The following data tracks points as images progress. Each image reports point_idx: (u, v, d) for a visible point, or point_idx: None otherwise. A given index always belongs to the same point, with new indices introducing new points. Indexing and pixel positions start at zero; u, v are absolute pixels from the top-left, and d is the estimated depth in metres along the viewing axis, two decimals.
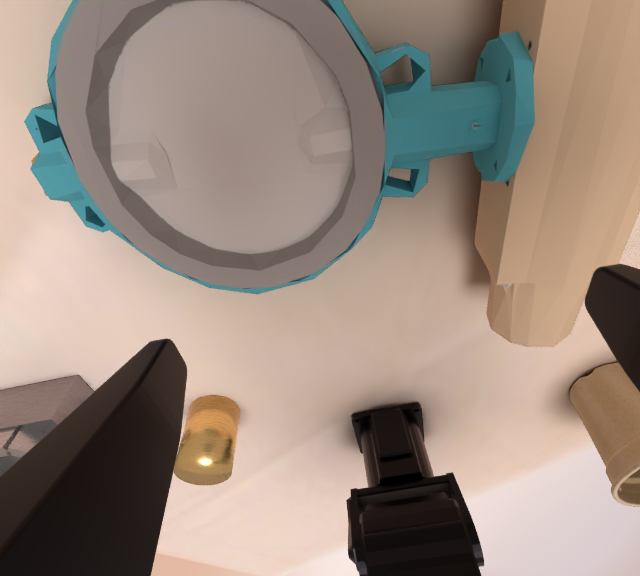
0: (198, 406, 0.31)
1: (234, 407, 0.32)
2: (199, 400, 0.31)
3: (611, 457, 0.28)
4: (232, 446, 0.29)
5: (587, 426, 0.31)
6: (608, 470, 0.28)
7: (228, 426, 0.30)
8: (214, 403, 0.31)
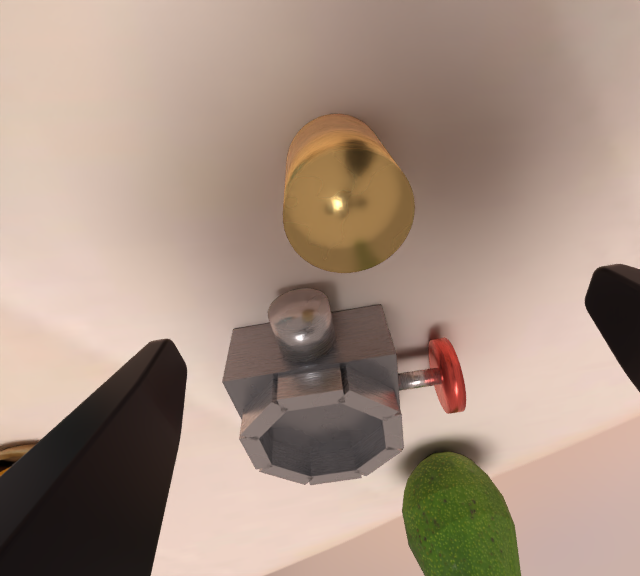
0: None
1: (313, 122, 0.15)
2: None
3: None
4: (334, 138, 0.12)
5: None
6: None
7: (306, 140, 0.13)
8: None
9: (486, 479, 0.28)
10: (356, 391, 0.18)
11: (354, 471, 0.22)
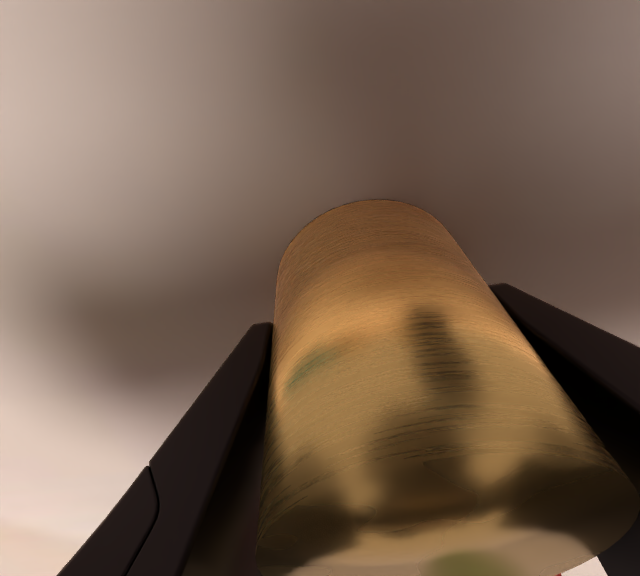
0: None
1: (331, 221, 0.07)
2: None
3: None
4: (398, 326, 0.04)
5: None
6: None
7: (319, 290, 0.06)
8: None
9: None
10: None
11: None
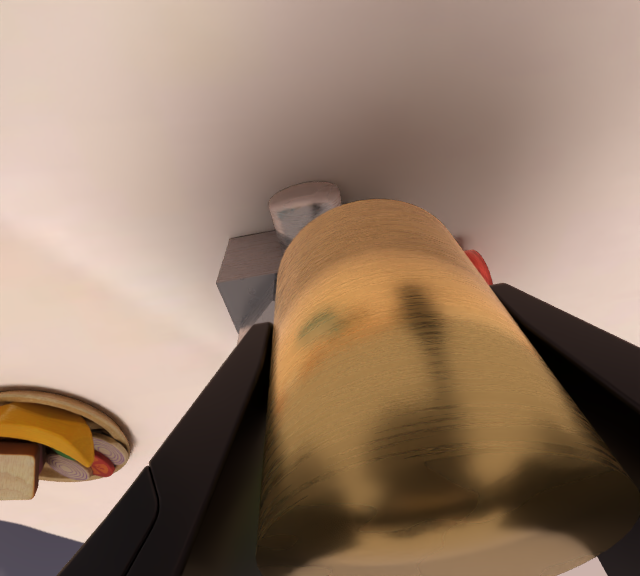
0: None
1: (331, 220, 0.07)
2: None
3: None
4: (398, 325, 0.04)
5: None
6: None
7: (320, 289, 0.06)
8: (276, 293, 0.08)
9: None
10: None
11: None
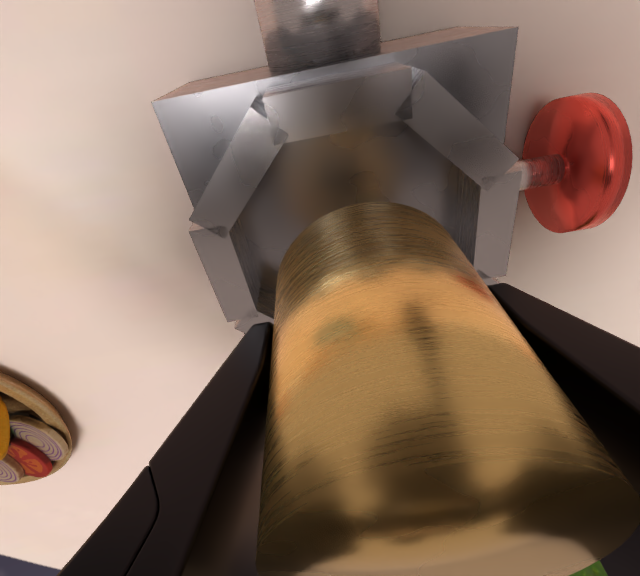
0: None
1: (332, 223, 0.07)
2: None
3: None
4: (399, 330, 0.04)
5: None
6: None
7: (320, 293, 0.06)
8: (276, 296, 0.08)
9: None
10: (438, 84, 0.08)
11: None
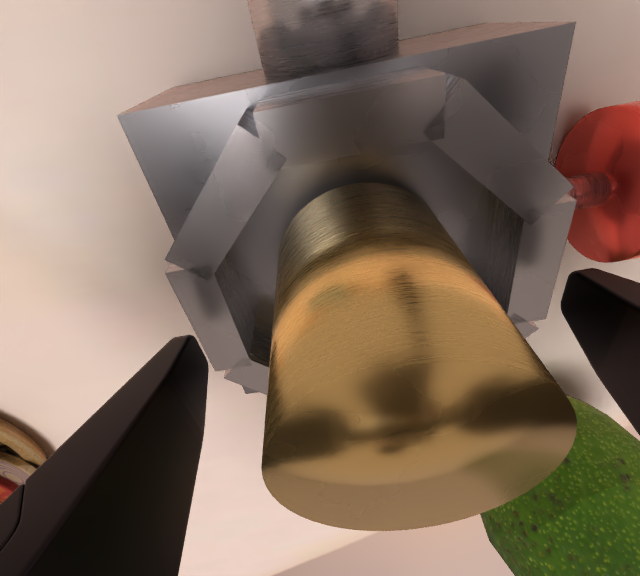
0: None
1: (327, 201, 0.08)
2: None
3: None
4: (380, 278, 0.05)
5: None
6: None
7: (315, 256, 0.07)
8: (277, 267, 0.09)
9: (623, 428, 0.16)
10: (479, 94, 0.06)
11: None
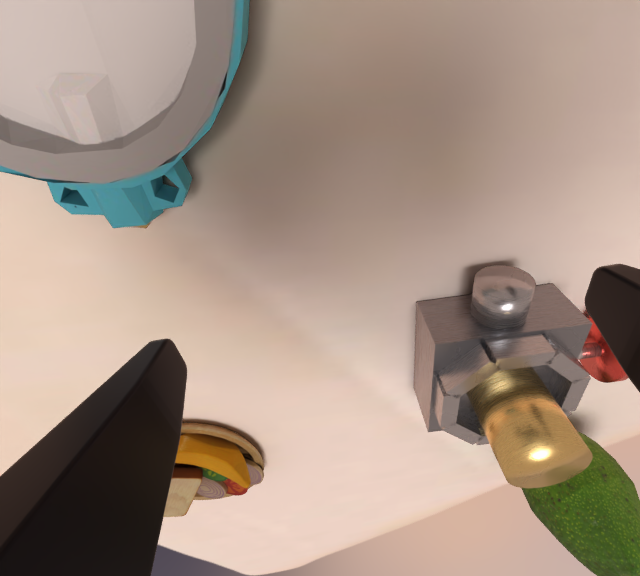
0: (472, 404, 0.23)
1: None
2: (468, 397, 0.24)
3: None
4: (539, 415, 0.19)
5: None
6: None
7: (509, 399, 0.20)
8: (476, 390, 0.22)
9: (604, 450, 0.31)
10: (563, 354, 0.20)
11: None
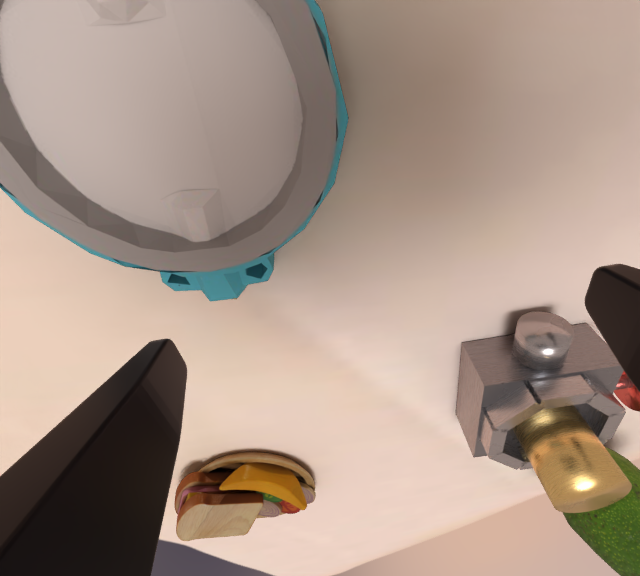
0: (516, 435, 0.26)
1: None
2: (512, 428, 0.26)
3: None
4: (582, 450, 0.22)
5: None
6: None
7: (553, 434, 0.23)
8: (520, 424, 0.25)
9: (635, 467, 0.33)
10: (601, 393, 0.23)
11: None
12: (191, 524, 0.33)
